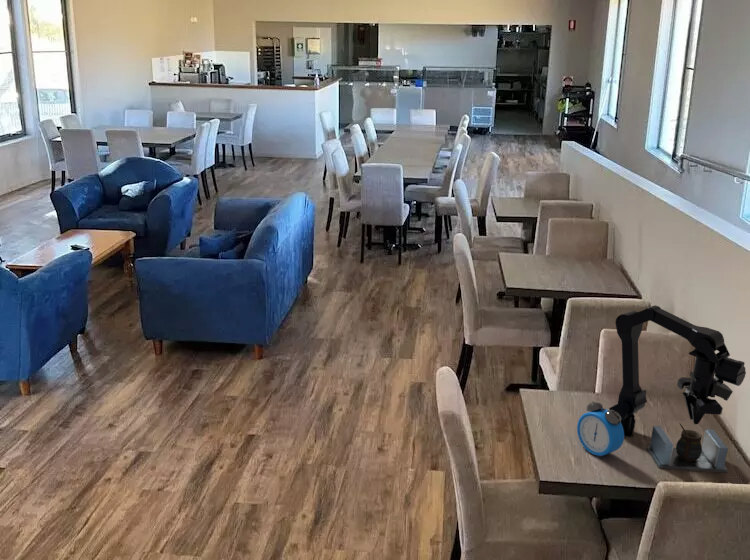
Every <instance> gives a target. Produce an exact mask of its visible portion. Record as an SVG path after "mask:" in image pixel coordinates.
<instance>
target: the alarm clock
mask: <svg viewBox="0 0 750 560" xmlns="http://www.w3.org/2000/svg"><path fill="white" fill-rule="evenodd" d="M585 409H586V411H587V412H586V413H585V412H584V413H583V414H582V415H581V416H580V417H579V419H578V422H577V424H576V425H577V426H576V430H577V432H576V433H577V436H578V439H579V442H580V444H582V446H583V449H585V450H586V451H587V452H588V453H590V454H592V455H594V456H597V457H600V459H601V460H602V459H603V456H605V455H608V454H610V453H613V452H615V451H618V450H619V449H620V448H621V447H622V445H623V444H624V441H625V436H624V430H623V426H622V424H621V416H620V414H619V413H618V412H616V411H614V410H609V409H607V408H604V406H603V404H602V403H600V402H598V401H593V400H592V402H590V403H588V404H587V405H586V408H585Z"/></svg>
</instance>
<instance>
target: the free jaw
mask: <svg viewBox="0 0 750 560" xmlns="http://www.w3.org/2000/svg"><path fill="white" fill-rule="evenodd" d="M650 436H651V437H650V443H649V446H651V448H652V450H653V451H654V453H655V454H656V456H657V458H658V459H659V461H660V462H661V464H662V465H669V463H670V461H671V456H672V451H673V448H674V443H673V441H672V440H671V438H669V435H667V433H666V432H665V430H664V429H663V428H662V426H661V425H653V426H652V432H651V435H650Z"/></svg>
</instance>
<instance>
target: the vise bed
mask: <svg viewBox="0 0 750 560" xmlns="http://www.w3.org/2000/svg"><path fill="white" fill-rule="evenodd" d="M701 446H702V453H701V455H700V457H699V458H698V459H697V460H695V461H686V460H684V459H682V458H681V457H679V455H678V454H677V450H676V447H673V451H672V456H671V461H670V463H669V465H662V464H661V462H660V461H659V459H658V458H657V456H656V454H655V453H654V451H653V450H652V448H651V446H650V445H646V450H647V452H648V454H649V456H650V457H651V459H652V460H653V462H654V464H655V465H656V466H657V468H658V469H664V470H665V469H666V470H677V471H679V470H681V471H694V472H708V473H709V472H710V473H713V472H714V473H728V471H729V470H728V468H727V467H726V465H725V464H726V460H727V454H728V451H729V447H728V446H727V445H726V444H725V442H724V441H723V440H722V439H721V438H720V436H719V435H718V434H717V432H716V431H715V430H714V429H712V428H711V429H709V428H705V430H704V434H703V440H702V443H701Z"/></svg>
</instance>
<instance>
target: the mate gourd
mask: <svg viewBox="0 0 750 560" xmlns="http://www.w3.org/2000/svg"><path fill="white" fill-rule="evenodd" d="M678 424H679V427H681V429H682V431H681V434H680V438H679V439H678V440H677V442H676V444H675V448H676V450H677V454H678V455H679V457H681V458H682V459H684V460H686V461H695V460H697V459H698V458H699V457H700V455H701V453H702V443H701V441H702V437H703V436H702V434H701V433H700V432H699V431H696V430H694V429H685V428H684V426H683V425H682V423H681V422H679V423H678Z"/></svg>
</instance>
